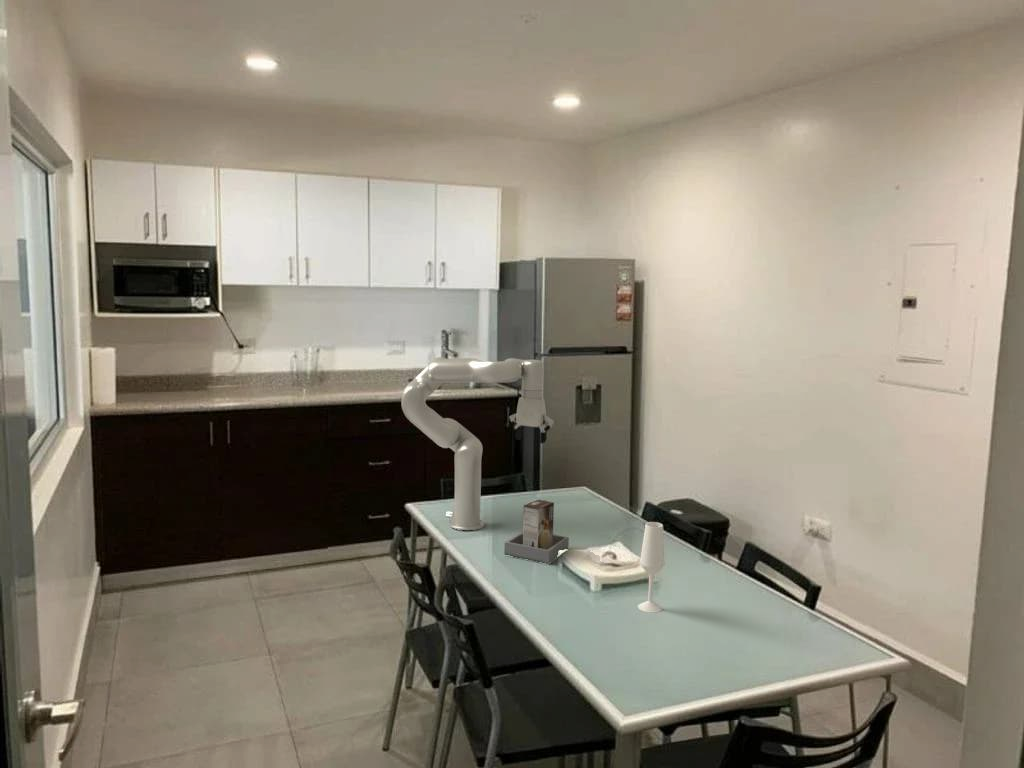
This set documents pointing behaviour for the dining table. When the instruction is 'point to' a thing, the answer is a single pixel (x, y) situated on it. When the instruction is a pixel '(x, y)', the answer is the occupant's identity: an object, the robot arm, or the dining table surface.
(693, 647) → the dining table surface
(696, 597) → the dining table surface
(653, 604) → the champagne flute
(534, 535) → the coffee box
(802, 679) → the dining table surface
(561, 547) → the box
